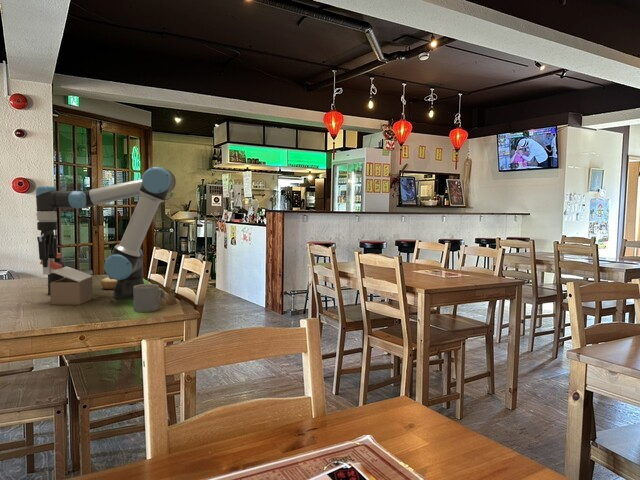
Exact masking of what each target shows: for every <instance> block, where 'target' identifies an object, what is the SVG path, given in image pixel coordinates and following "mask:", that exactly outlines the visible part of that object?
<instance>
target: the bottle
mask: <svg viewBox="0 0 640 480" xmlns="http://www.w3.org/2000/svg"><path fill="white" fill-rule="evenodd" d="M55 257H57V258H54V262H56V263H59V264H61V265H62V268H63V267H65V263H64V262H63V261H62V253H61V252H57V256H55ZM55 270H56V269H55ZM62 278H65V277H64V276H61V275H58V274H56V273H50V275H47V295H48V296H51V293H50V283H51V282H54V281H56V280H59V279H62Z"/></svg>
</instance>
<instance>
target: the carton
mask: <svg viewBox="0 0 640 480" xmlns="http://www.w3.org/2000/svg"><path fill="white" fill-rule="evenodd" d="M50 293H51V295H50V306H80V305H83V304H84V303H85V304H86V302H89V301H91V300H93V277H92V278H89V279H86V280H84V281H81V282H77V281H75V280H72V279H69V278H67V277H64V278H62V279H59V280H56V281H54V282H51V283H50Z"/></svg>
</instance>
